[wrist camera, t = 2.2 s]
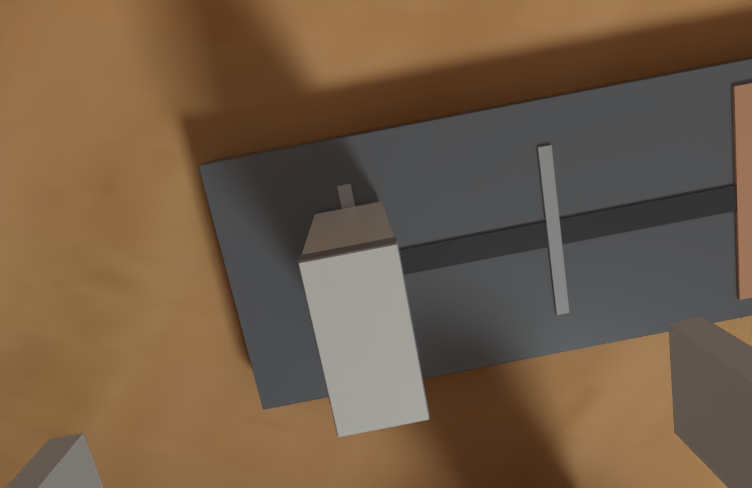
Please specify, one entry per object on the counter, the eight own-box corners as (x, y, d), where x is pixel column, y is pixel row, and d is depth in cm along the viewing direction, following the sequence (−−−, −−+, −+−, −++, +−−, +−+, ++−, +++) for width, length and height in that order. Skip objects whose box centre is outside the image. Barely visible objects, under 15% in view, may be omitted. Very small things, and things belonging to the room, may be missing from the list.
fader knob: (340, 339, 26) (337, 438, 18) (313, 213, 24) (296, 262, 17) (406, 326, 26) (430, 420, 18) (382, 199, 24) (398, 242, 17)
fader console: (269, 389, 29) (262, 411, 27) (209, 161, 26) (197, 165, 24) (834, 280, 29) (872, 293, 27) (838, 40, 26) (882, 34, 24)
